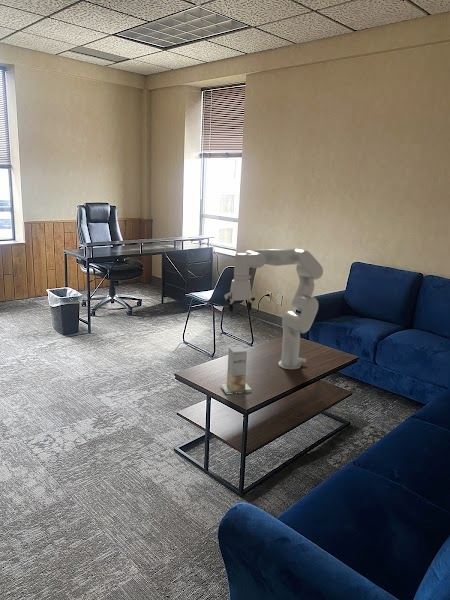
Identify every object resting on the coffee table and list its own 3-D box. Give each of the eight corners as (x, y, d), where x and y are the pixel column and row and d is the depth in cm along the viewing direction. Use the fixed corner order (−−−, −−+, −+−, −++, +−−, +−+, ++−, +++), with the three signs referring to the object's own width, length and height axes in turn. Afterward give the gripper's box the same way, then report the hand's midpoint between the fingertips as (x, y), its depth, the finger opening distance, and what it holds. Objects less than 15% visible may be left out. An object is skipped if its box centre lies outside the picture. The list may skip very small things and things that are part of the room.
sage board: (245, 384, 238) (245, 381, 238) (251, 392, 230) (251, 389, 230) (220, 387, 235) (220, 384, 234) (226, 394, 226) (226, 391, 226)
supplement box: (231, 376, 226) (232, 352, 223) (227, 370, 233) (228, 346, 230) (246, 375, 228) (247, 351, 225) (241, 369, 235) (242, 345, 232)
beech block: (240, 382, 237) (240, 369, 235) (245, 389, 229) (245, 376, 228) (226, 383, 235) (227, 370, 233) (231, 390, 227) (232, 377, 226)
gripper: (254, 275, 241) (253, 307, 245) (222, 276, 236) (221, 309, 240) (260, 278, 234) (258, 311, 238) (227, 279, 229) (226, 313, 233)
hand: (240, 310), depth 239 cm, fingers open, 9 cm apart
